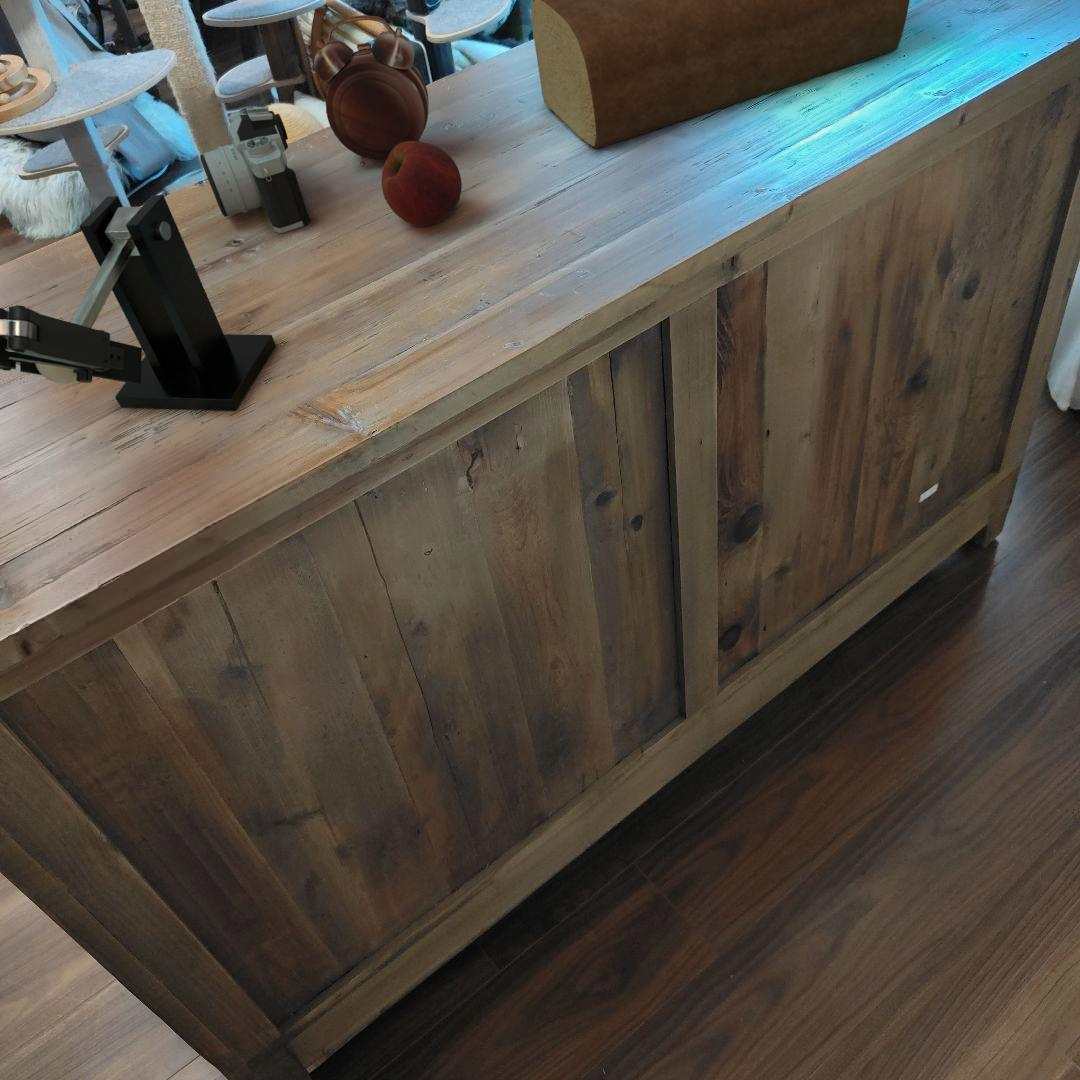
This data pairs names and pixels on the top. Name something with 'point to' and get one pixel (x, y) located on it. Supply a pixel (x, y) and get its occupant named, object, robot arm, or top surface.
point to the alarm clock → (373, 91)
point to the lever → (100, 285)
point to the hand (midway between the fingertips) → (111, 365)
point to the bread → (693, 54)
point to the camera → (256, 170)
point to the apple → (421, 183)
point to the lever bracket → (174, 318)
